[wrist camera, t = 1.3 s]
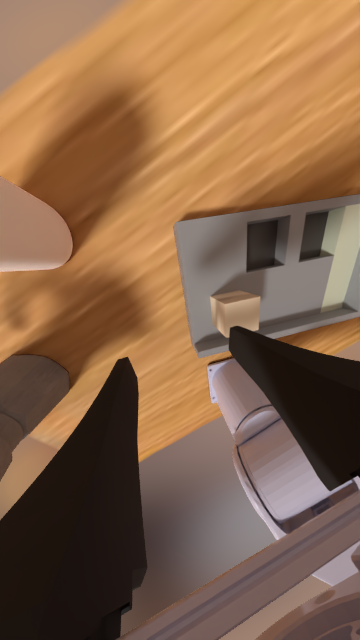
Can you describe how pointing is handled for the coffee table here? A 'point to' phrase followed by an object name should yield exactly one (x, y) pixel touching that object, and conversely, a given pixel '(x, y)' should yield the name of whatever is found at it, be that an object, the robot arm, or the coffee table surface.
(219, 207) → the coffee table surface
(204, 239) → the box
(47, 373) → the coffeepot
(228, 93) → the coffee table surface
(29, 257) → the can
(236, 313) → the block
